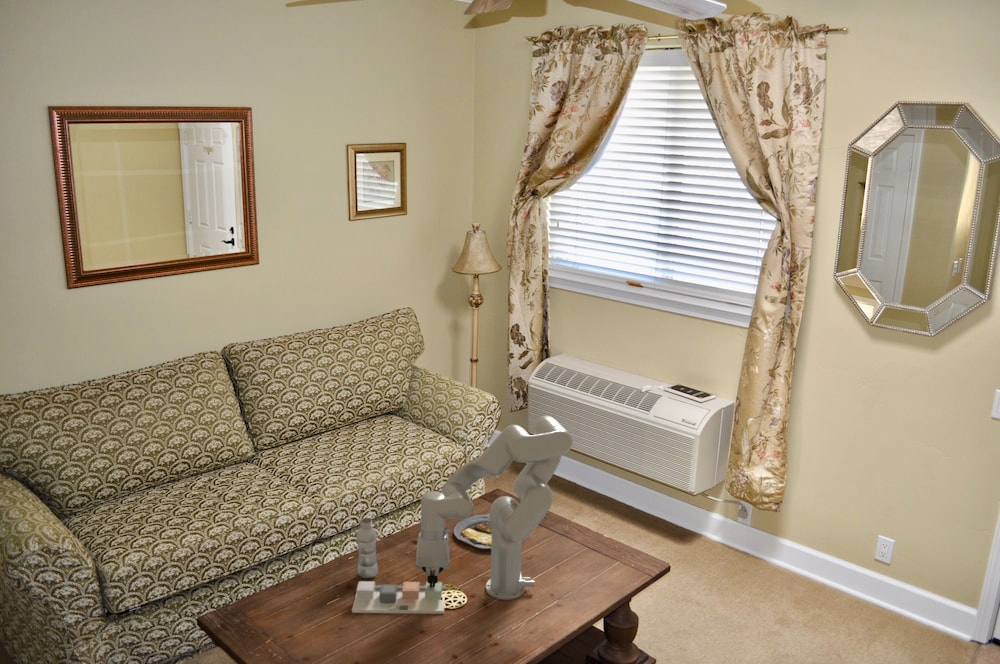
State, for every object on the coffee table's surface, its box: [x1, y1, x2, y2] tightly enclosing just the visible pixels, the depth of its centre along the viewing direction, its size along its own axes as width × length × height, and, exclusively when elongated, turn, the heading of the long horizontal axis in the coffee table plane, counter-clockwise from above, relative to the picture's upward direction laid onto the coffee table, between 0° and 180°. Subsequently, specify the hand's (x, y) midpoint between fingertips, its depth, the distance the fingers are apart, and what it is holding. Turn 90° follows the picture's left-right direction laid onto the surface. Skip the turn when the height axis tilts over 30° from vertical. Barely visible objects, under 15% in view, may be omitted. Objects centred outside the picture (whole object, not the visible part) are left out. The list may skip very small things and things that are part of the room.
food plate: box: [453, 513, 492, 550], centre depth 301 cm, size 25×23×4 cm
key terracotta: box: [402, 581, 421, 600], centre depth 260 cm, size 5×5×3 cm
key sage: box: [425, 581, 443, 600], centre depth 260 cm, size 5×5×3 cm
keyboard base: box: [351, 584, 447, 615], centre depth 261 cm, size 28×12×2 cm, turn 91°
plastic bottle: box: [355, 517, 379, 579], centre depth 272 cm, size 6×7×20 cm
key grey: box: [356, 580, 376, 599], centre depth 260 cm, size 5×5×3 cm
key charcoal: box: [379, 583, 398, 602], centre depth 260 cm, size 5×5×3 cm
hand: (432, 584), depth 259 cm, fingers closed
